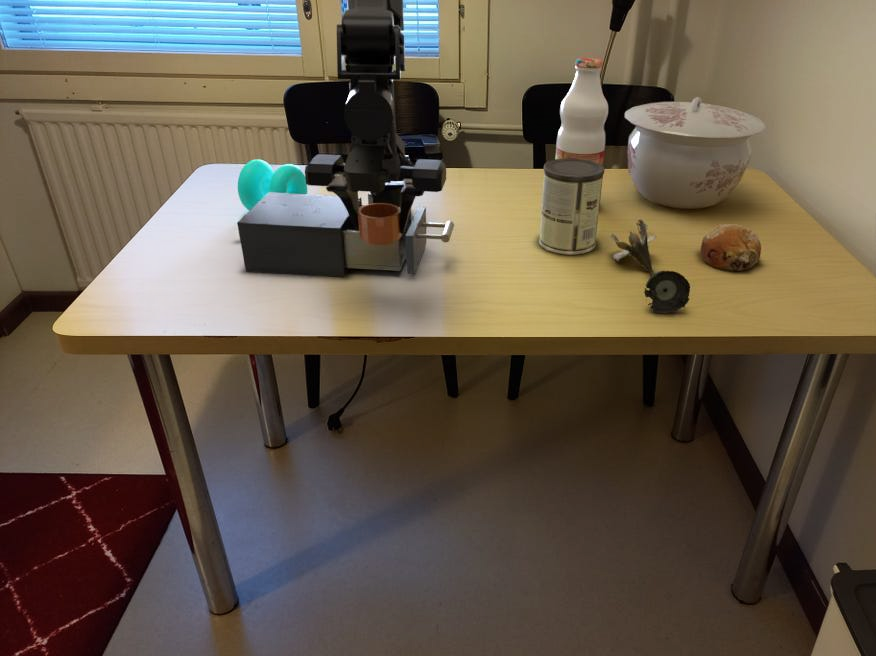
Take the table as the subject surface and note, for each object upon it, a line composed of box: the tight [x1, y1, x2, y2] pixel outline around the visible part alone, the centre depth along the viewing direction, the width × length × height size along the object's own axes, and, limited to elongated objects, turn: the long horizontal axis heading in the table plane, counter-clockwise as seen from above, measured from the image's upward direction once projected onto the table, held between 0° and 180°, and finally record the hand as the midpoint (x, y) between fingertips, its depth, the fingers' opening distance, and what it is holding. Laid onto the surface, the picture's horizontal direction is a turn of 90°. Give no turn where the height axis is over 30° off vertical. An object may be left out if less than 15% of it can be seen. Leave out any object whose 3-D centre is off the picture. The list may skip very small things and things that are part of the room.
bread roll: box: [700, 223, 762, 272], centre depth 119 cm, size 10×10×8 cm
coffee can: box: [538, 158, 606, 256], centre depth 120 cm, size 10×10×14 cm
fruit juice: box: [554, 57, 609, 166], centre depth 133 cm, size 9×9×28 cm
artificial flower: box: [610, 219, 691, 315], centre depth 110 cm, size 9×22×10 cm, turn 179°
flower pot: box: [358, 203, 402, 245], centre depth 98 cm, size 6×6×4 cm
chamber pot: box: [624, 96, 767, 210], centre depth 141 cm, size 28×28×21 cm
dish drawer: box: [342, 204, 455, 276], centre depth 114 cm, size 21×13×7 cm, turn 85°
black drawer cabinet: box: [236, 192, 363, 278], centre depth 115 cm, size 16×14×8 cm
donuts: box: [237, 158, 308, 212], centre depth 131 cm, size 10×10×10 cm
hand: (380, 231), depth 99 cm, fingers closed on flower pot, 6 cm apart
